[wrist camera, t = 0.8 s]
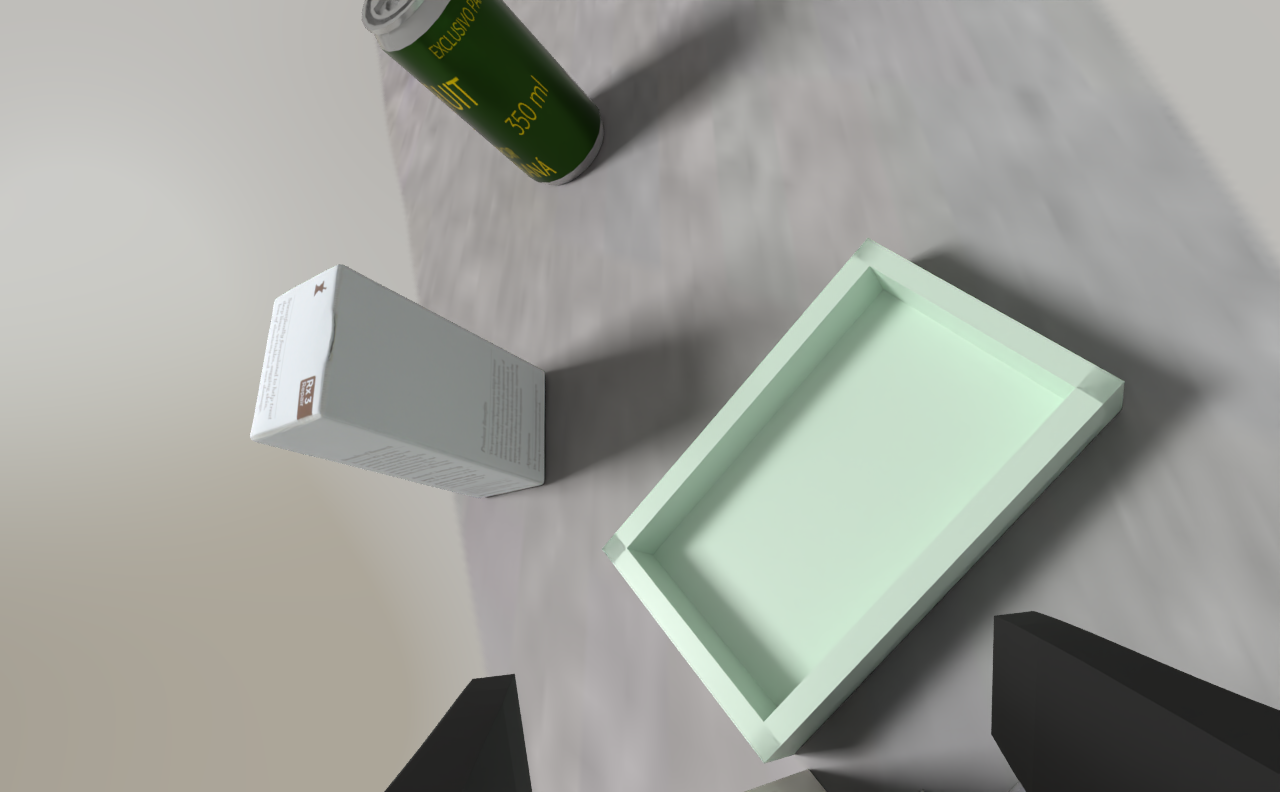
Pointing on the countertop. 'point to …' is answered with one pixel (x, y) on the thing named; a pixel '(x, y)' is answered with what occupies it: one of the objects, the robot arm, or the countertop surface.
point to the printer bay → (792, 784)
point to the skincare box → (397, 390)
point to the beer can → (493, 80)
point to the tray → (852, 489)
